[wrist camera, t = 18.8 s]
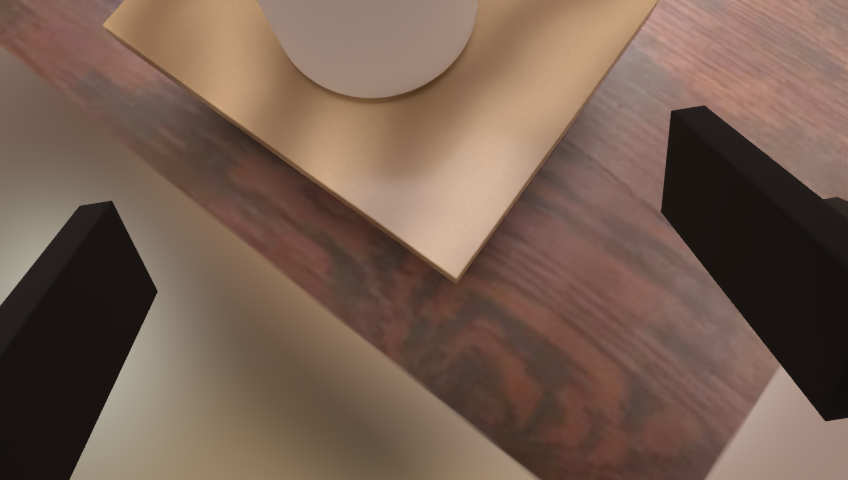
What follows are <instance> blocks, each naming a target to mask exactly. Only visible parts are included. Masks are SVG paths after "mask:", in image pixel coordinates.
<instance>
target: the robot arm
mask: <svg viewBox="0 0 848 480" xmlns="http://www.w3.org/2000/svg"><path fill="white" fill-rule="evenodd" d="M661 212H662V214H663V215H664V216H665V218H666V219H667V220H668V221H669V223H670V224H671V225H672V226H673V228H674V229H675V230H676V232H677V233H678V234H679V235H680V237H681V238H682V239H683V240H684V242H685V243H686V244H687V246H688V247H689V248H690V249H691V251H692V252H693V253H694V255H695V256H696V257H697V258H698V260H699V261H700V262H701V263H702V265H703V266H704V267H705V269H706V270H707V271H708V272H709V274H710V275H711V276H712V277H713V279H714V280H715V281H716V283H717V284H718V285H719V286H720V288H721V289H722V290H723V291H724V293H725V294H726V295H727V297H728V298H729V299H730V300H731V302H732V303H733V304H734V305H735V307H736V308H737V309H738V311H739V312H740V313H741V314H742V316H743V317H744V318H745V319H746V321H747V322H748V323H749V325H750V326H751V327H752V328H753V330H754V331H755V332H756V334H757V335H758V336H759V337H760V339H761V340H762V341H763V342H764V344H765V345H766V346H767V348H768V349H769V350H770V351H771V353H772V354H773V355H774V356H775V358H776V359H777V360H778V362H779V363H780V364H781V365H782V367H783V368H784V369H785V370H786V372H787V373H788V374H789V376H790V377H791V378H792V379H793V380H794V382H795V383H796V384H797V386H798V387H799V388H800V390H801V391H802V392H803V393H804V395H805V396H806V397H807V399H808V400H809V401H810V402H811V404H812V405H813V406H814V407H815V409H816V410H817V411H818V412H819V414H820V415H821V416H822V418H823V419H824V420H825V421H831V420H837V419H844V418H848V201H845V200H843V199H841V198H838V197H835V198H829V199H822V198H821V197H819V196H818V195H817V194H816V193H814V192H813V191H812V190H811V189H809V188H808V187H807V186H805V185H804V184H803V183H802V182H800V181H799V180H798V179H797V178H795V177H794V176H793V175H792V174H790V173H789V172H788V171H787V170H785V169H784V168H783V167H781V166H780V165H779V164H778V163H776V162H775V161H774V160H773V159H771V158H770V157H769V156H768V155H766V154H765V153H764V152H763V151H761V150H760V149H759V148H757V147H756V146H755V145H754V144H752V143H751V142H750V141H749V140H747V139H746V138H745V137H744V136H742V135H741V134H740V133H739V132H737V131H736V130H735V129H733V128H732V127H731V126H730V125H728V124H727V123H726V122H725V121H723V120H722V119H721V118H720V117H718V116H717V115H716V114H715V113H713V112H712V111H711V110H709V109H708V108H707V107H706V106H698V107H692V108H686V109H680V110H673V111H671V119H670V129H669V139H668V149H667V158H666V168H665V178H664V188H663V198H662V208H661ZM156 294H157V289H156V287H155V285H154V283H153V281H152V279H151V277H150V275H149V273H148V271H147V269H146V268H145V265H144V263H143V261H142V259H141V257H140V256H139V254H138V252H137V250H136V248H135V246H134V244H133V242H132V240H131V238H130V236H129V234H128V232H127V230H126V228H125V226H124V224H123V222H122V220H121V218H120V216H119V214H118V212H117V210H116V208H115V206H114V204H113V202H112V201H107V202H101V203H95V204H89V205H82V206H79V207H78V209H77V210H76V211H75V212H74V214H73V215H72V216H71V217H70V219H69V220H68V221H67V223H66V224H65V225H64V226H63V228H62V229H61V230H60V232H59V233H58V234H57V235H56V236H55V238H54V239H53V240H52V241H51V243H50V244H49V245H48V246H47V248H46V249H45V250H44V252H43V253H42V254H41V256H40V257H39V258H38V259H37V261H36V262H35V263H34V264H33V265H32V267H31V268H30V269H29V270H28V272H27V273H26V274H25V276H24V277H23V278H22V279H21V281H20V282H19V283H18V284H17V286H16V287H15V288H14V289H13V291H12V292H11V293H10V294H9V296H8V297H7V298H6V300H5V301H4V302H3V303H2V304H1V306H0V480H70V477H71V475H72V473H73V471H74V469H75V467H76V464H77V462H78V460H79V458H80V456H81V454H82V452H83V450H84V448H85V445H86V443H87V441H88V439H89V437H90V435H91V433H92V430H93V428H94V426H95V424H96V422H97V420H98V418H99V416H100V413H101V411H102V409H103V407H104V405H105V403H106V401H107V399H108V396H109V394H110V392H111V390H112V388H113V386H114V384H115V382H116V379H117V377H118V375H119V373H120V371H121V369H122V366H123V364H124V362H125V360H126V358H127V356H128V354H129V352H130V350H131V347H132V345H133V343H134V341H135V339H136V336H137V335H138V332H139V330H140V328H141V326H142V324H143V322H144V320H145V317H146V315H147V313H148V311H149V309H150V307H151V305H152V303H153V301H154V298H155V296H156Z"/></svg>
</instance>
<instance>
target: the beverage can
mask: <svg viewBox="0 0 848 480" xmlns="http://www.w3.org/2000/svg"><path fill="white" fill-rule="evenodd" d="M257 2H258V4H259V6H260V7H261V9H262V11H263V13H264V15H265V17H266V18H267V20H268V22H269V24H270V26H271V28H272V29H273V31H274V33H275V35H276V37H277V39H278V40H279V42H280V44H281V46H282V48H283V49H284V51H285V53H286V54H287V56H288V57H289V59H290V60H291V61H292V63H293V64H294V65H295V66H296V67H297V68H298V69H299V70H300V71H301V72H302V73H303V74H304V75H306V76H307V77H308V78H309V79H311V80H312V81H314V82H315V83H317V84H319V85H321V86H322V87H324V88H327V89H329V90H331V91H334V92H337V93H340V94H343V95H347V96H352V97H360V98H383V97H390V96H395V95H400V94H403V93H406V92H409V91H412V90H415V89H417V88H419V87H421V86H423V85H425V84H427V83H428V82H430V81H432V80H433V79H435V78H436V77H438V76H439V75H440V74H441V73H443V72H444V71H445V70H446V69H447V68H448V67H449V66H450V65H451V64H452V63H453V62H454V61H455V60H456V59H457V57H458V56H459V55H460V53H461V52H462V50H463V49H464V47H465V46H466V44H467V42H468V40H469V38H470V36H471V33H472V31H473V28H474V25H475V21H476V16H477V9H478V0H257Z"/></svg>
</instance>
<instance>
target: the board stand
mask: <svg viewBox="0 0 848 480" xmlns="http://www.w3.org/2000/svg"><path fill="white" fill-rule="evenodd" d="M658 2H659V0H478V9H477V16H476V21H475V25H474V28H473V31H472V33H471V36H470V38H469V40H468V42H467V44H466V46H465V47H464V49H463V50H462V52H461V53H460V55H459V56H458V57H457V59H456V60H455V61H454V62H453V63H452V64H451V65H450V66H449V67H448V68H447V69H446V70H445V71H444V72H443V73H441V74H440V75H439V76H438V77H436V78H435V79H433V80H432V81H430V82H428V83H427V84H425V85H423V86H421V87H419V88H417V89H415V90H412V91H409V92H406V93H403V94H400V95H395V96H390V97H383V98H360V97H352V96H347V95H343V94H340V93H337V92H334V91H331V90H329V89H327V88H324V87H322V86H321V85H319V84H317V83H315V82H314V81H312V80H311V79H309V78H308V77H307V76H306V75H304V74H303V73H302V72H301V71H300V70H299V69H298V68H297V67H296V66H295V65H294V64H293V63H292V61H291V60H290V59H289V57H288V56H287V54H286V53H285V51H284V49H283V48H282V46H281V44H280V42H279V40H278V39H277V37H276V35H275V33H274V31H273V29H272V28H271V26H270V24H269V22H268V20H267V18H266V17H265V15H264V13H263V11H262V9H261V7H260V6H259V4H258V2H257V0H124V1H123V2H122V3H121V4H120V5H119V7H118V8H117V9H116V10H115V11H114V12H113V13H112V15H111V16H110V17H109V18H108V19H107V20H106V21H105V23H104V24H103V25H102V26H103V27H104V28H105V29H106V30H107V31H108V32H109V33H110V34H111V35H112V36H113V37H114V38H115V39H116V40H117V41H119V42H120V43H121V44H122V45H123V46H125V47H126V48H127V49H129V50H130V51H132V52H133V53H134V54H136V55H137V56H139V57H140V58H141V59H143V60H144V61H146V62H147V63H148V64H150V65H151V66H153V67H154V68H155V69H157V70H158V71H160V72H161V73H162V74H164V75H165V76H166V77H168V78H169V79H171V80H172V81H173V82H175V83H176V84H178V85H179V86H180V87H182V88H183V89H185V90H186V91H187V92H189V93H190V94H192V95H193V96H194V97H196V98H197V99H199V100H200V101H201V102H203V103H204V104H206V105H207V106H208V107H210V108H211V109H212V110H214V111H215V112H217V113H218V114H219V115H221V116H222V117H224V118H225V119H226V120H228V121H229V122H231V123H232V124H233V125H235V126H236V127H238V128H239V129H240V130H242V131H243V132H245V133H246V134H247V135H249V136H250V137H252V138H253V139H254V140H256V141H257V142H258V143H260V144H261V145H263V146H264V147H265V148H267V149H268V150H270V151H271V152H272V153H274V154H275V155H277V156H278V157H279V158H281V159H282V160H284V161H285V162H286V163H288V164H289V165H291V166H292V167H293V168H295V169H296V170H297V171H299V172H300V173H302V174H303V175H304V176H306V177H307V178H309V179H310V180H311V181H313V182H314V183H316V184H317V185H318V186H320V187H321V188H323V189H324V190H325V191H327V192H328V193H330V194H331V195H332V196H334V197H335V198H337V199H338V200H339V201H341V202H342V203H343V204H345V205H346V206H348V207H349V208H350V209H352V210H353V211H355V212H356V213H357V214H359V215H360V216H362V217H363V218H364V219H366V220H367V221H369V222H370V223H371V224H373V225H374V226H376V227H377V228H378V229H380V230H381V231H382V232H384V233H385V234H387V235H388V236H389V237H391V238H392V239H394V240H395V241H396V242H398V243H399V244H401V245H402V246H403V247H405V248H406V249H408V250H409V251H410V252H412V253H413V254H415V255H416V256H417V257H419V258H420V259H422V260H423V261H424V262H426V263H427V264H428V265H430V266H431V267H433V268H434V269H435V270H437V271H438V272H440V273H441V274H442V275H444V276H445V277H447V278H448V279H449V280H451V281H452V282H454V283H455V284H457V283H458V281H459V280H460V279H461V277H462V276H463V275H464V273H465V272H466V270H467V269H468V268H469V266H470V265H471V263H472V262H473V261H474V259H475V258H476V257H477V255H478V254H479V252H480V251H481V250H482V248H483V247H484V245H485V244H486V243H487V241H488V240H489V239H490V237H491V236H492V234H493V233H494V232H495V230H496V229H497V227H498V226H499V225H500V223H501V222H502V221H503V219H504V218H505V216H506V215H507V214H508V212H509V211H510V209H511V208H512V207H513V205H514V204H515V203H516V201H517V200H518V198H519V197H520V196H521V194H522V193H523V191H524V190H525V189H526V187H527V186H528V185H529V183H530V182H531V180H532V179H533V178H534V176H535V175H536V173H537V172H538V171H539V169H540V168H541V167H542V165H543V164H544V162H545V161H546V160H547V158H548V157H549V155H550V154H551V153H552V151H553V150H554V149H555V147H556V146H557V144H558V143H559V142H560V140H561V139H562V137H563V136H564V135H565V133H566V132H567V131H568V129H569V128H570V126H571V125H572V124H573V122H574V121H575V119H576V118H577V117H578V115H579V114H580V113H581V111H582V110H583V108H584V107H585V106H586V104H587V103H588V101H589V100H590V99H591V97H592V96H593V95H594V93H595V92H596V90H597V89H598V88H599V86H600V85H601V83H602V82H603V81H604V79H605V78H606V77H607V75H608V74H609V72H610V71H611V70H612V68H613V67H614V65H615V64H616V63H617V61H618V60H619V59H620V57H621V56H622V54H623V53H624V52H625V50H626V49H627V47H628V46H629V45H630V43H631V42H632V41H633V39H634V38H635V36H636V35H637V34H638V32H639V31H640V29H641V28H642V27H643V25H644V24H645V23H646V21H647V20H648V18H649V17H650V15H651V13H652V12H653V10H654V8H655V7H656V5H657V3H658Z"/></svg>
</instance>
